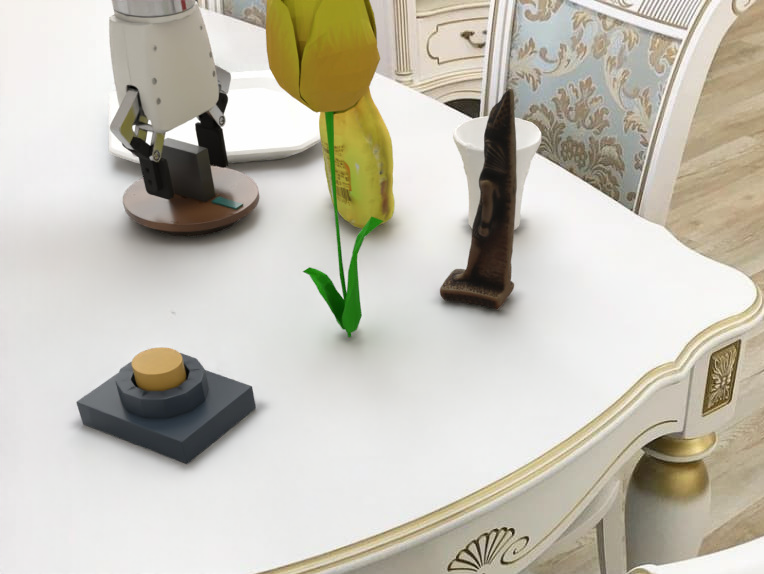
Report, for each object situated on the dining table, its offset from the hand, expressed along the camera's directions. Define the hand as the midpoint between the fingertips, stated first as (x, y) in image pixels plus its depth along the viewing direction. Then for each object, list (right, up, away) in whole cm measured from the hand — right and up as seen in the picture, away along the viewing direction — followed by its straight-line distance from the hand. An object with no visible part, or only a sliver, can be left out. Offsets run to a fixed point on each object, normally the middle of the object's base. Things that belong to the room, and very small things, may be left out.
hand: (188, 179), depth 115 cm
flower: (+19, -20, -13) cm, 31 cm away
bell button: (+5, -27, -25) cm, 37 cm away
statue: (+31, -15, -8) cm, 35 cm away
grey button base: (+5, -29, -23) cm, 37 cm away
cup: (+32, -4, +2) cm, 32 cm away
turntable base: (0, -3, +3) cm, 4 cm away
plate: (-2, +13, +18) cm, 23 cm away
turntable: (0, -2, +2) cm, 2 cm away
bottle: (+17, -2, +4) cm, 18 cm away
